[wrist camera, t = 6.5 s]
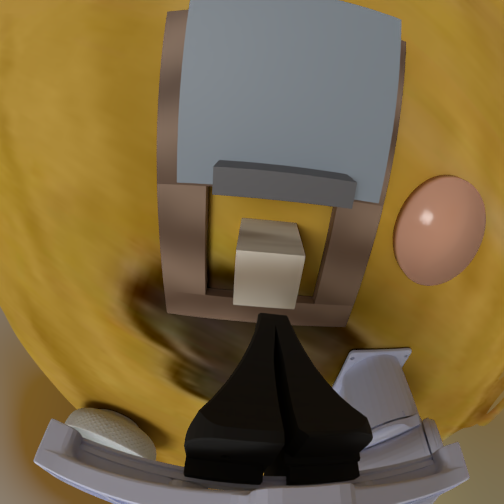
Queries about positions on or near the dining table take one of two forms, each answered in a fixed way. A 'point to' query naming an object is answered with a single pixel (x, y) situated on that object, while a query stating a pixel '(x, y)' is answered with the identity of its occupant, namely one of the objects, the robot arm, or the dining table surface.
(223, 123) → the grey miniature stool
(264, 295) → the block
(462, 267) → the dish
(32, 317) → the dining table surface
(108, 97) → the dining table surface
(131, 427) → the cereal bowl
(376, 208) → the puzzle board
